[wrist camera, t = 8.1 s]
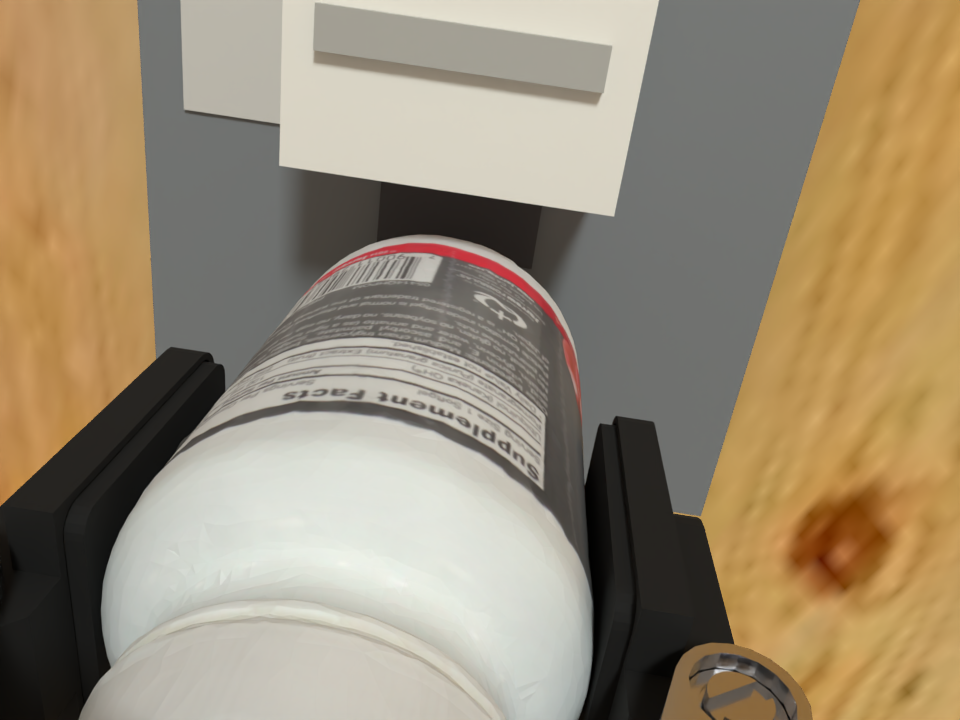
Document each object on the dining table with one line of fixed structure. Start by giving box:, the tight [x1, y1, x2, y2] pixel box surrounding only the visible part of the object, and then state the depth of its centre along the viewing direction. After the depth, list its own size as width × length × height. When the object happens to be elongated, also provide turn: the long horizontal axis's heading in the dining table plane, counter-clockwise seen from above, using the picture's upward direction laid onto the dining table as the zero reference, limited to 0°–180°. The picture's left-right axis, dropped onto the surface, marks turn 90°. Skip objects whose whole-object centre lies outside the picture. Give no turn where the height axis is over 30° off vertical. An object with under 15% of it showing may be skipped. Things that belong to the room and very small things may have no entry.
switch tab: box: [279, 0, 659, 217], centre depth 12 cm, size 4×5×3 cm
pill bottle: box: [79, 234, 596, 720], centre depth 11 cm, size 5×5×10 cm
